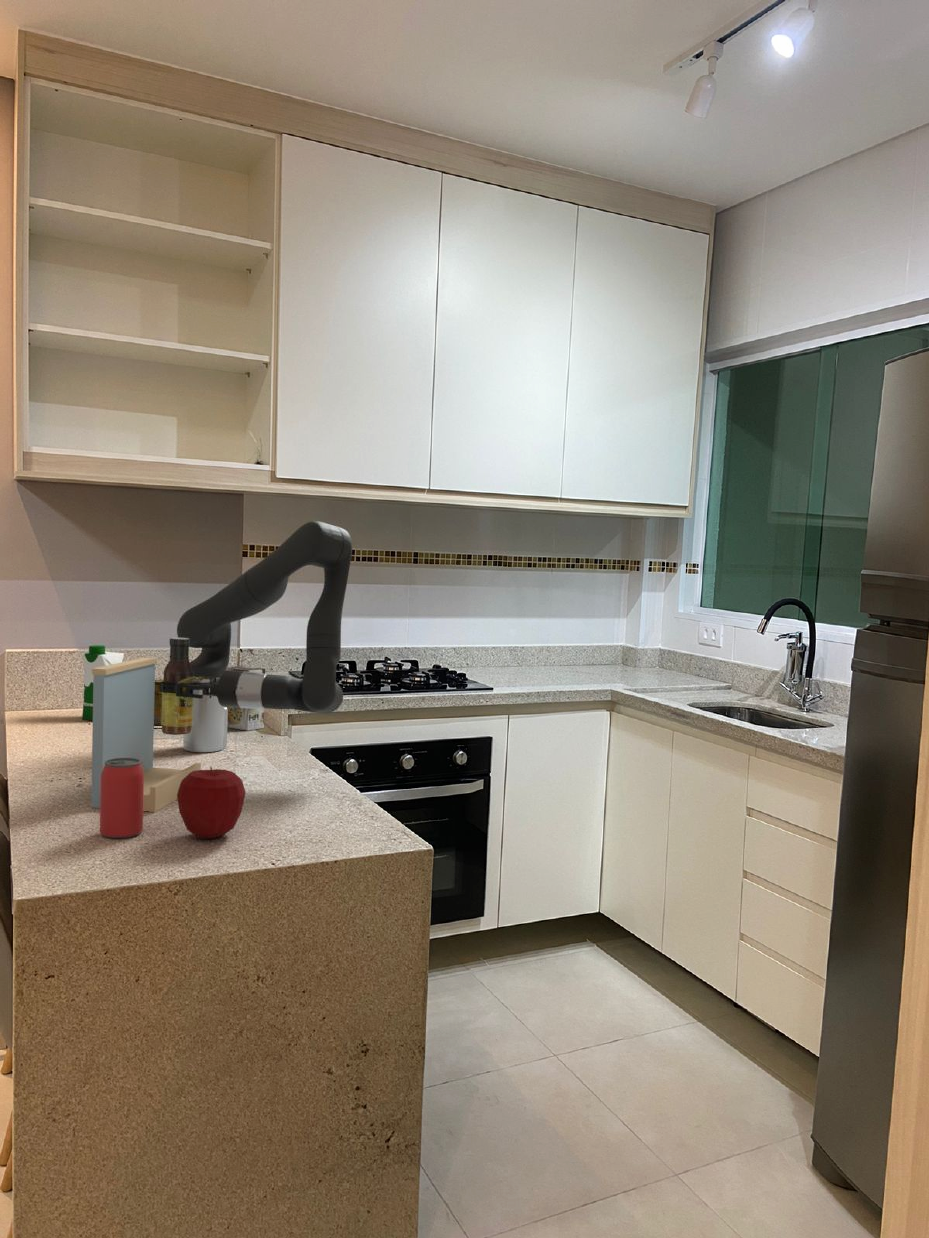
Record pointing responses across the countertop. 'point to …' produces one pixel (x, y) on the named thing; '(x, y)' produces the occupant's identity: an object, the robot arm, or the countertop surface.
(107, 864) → the countertop surface
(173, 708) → the sauce bottle
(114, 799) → the beer can
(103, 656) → the milk carton
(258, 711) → the coffee box
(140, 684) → the wall board
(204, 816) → the apple
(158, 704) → the condiment
